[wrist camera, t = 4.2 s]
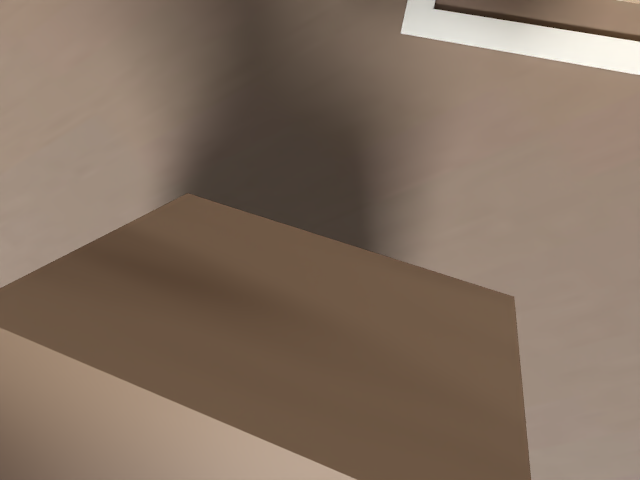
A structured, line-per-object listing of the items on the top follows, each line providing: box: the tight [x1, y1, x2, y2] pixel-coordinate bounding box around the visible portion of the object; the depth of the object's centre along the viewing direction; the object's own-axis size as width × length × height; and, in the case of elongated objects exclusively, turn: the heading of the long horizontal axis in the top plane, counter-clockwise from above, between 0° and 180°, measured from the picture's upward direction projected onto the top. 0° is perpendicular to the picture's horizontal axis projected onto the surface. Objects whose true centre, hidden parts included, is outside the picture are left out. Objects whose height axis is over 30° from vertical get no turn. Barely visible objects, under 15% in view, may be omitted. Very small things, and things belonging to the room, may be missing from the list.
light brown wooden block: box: [0, 193, 531, 480], centre depth 7 cm, size 6×6×4 cm
